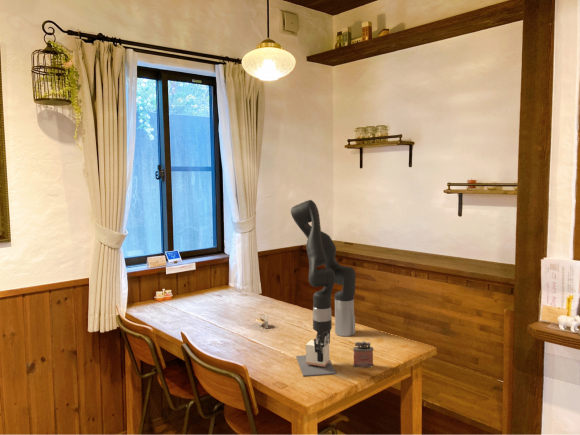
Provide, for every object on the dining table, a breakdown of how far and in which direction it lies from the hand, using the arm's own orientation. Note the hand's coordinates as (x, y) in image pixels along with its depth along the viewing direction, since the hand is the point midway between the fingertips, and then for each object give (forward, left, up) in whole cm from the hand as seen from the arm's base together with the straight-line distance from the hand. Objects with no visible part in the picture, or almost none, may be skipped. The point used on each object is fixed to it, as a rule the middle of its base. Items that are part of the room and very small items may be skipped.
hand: (322, 358), depth 179 cm
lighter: (-16, +2, -4) cm, 17 cm away
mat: (+3, -2, -3) cm, 5 cm away
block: (+2, -1, +6) cm, 6 cm away
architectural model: (+20, -53, -4) cm, 57 cm away
